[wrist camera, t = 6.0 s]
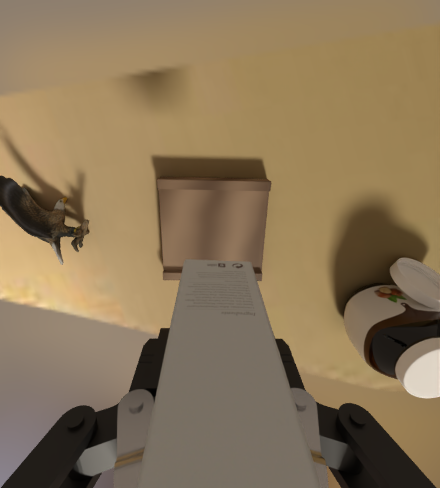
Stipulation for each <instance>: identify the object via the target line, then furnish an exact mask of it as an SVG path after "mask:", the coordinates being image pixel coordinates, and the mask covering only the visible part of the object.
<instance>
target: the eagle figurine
mask: <svg viewBox="0 0 440 488" xmlns="http://www.w3.org/2000/svg"><path fill="white" fill-rule="evenodd" d="M67 199H68V198H66V197H64V198H62V199H60V200H58V202H57V203H56V205H55V207H54V210H53V211H52V212H50V211H46V210H44V209H42V208H40V207H39V206H38V205H37V204H36V203H35V201H34V200H33V199H32V198H31V196H30V195H29V193H28V191H27V189H26V188H23V189H22V188H21V187H20V186H19V185H18V184H17V183H16V182H15V181H14V180H13V179H11V178H5V177H4V176H0V206H1V207H2V209H3V210H4V211H5V212H6V213H7V214H8V215H9V216H10V217H11V218H12V219H13V220H14V221H15V223H16V224H18V225H19V226H20V227H21V228H22V229H23V230H24V231H26V232H27V233H28V234H30V235H32V236H34V237H38V238H39V239H41V240H43V241H46V242H48V243H50V245H51V246H52V248H53V249H54V251H55V253H56V255H57V257H58V259H59V261H60V263H61V265H63V259H62V255H61V250H60V238H61V237H63V236H64V237H66V236H67V237H75V239H74V240H73V241H72V243H71V245H72V246H73V247H74V249H75V251H77V252H79V250H78V248H77V244H78V243H79V247H80V248H81V247H82V246H83V244H82V242H83V238H84V235H86V234H89V231H87V228H88V224H89V220H84V222H83V224H82V225H81V226H79V227H77V228H75V227H68V226H66V225H65V224H64V222H65V209H64V208H65V202H66V200H67Z"/></svg>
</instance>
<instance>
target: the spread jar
mask: <svg viewBox="0 0 440 488" xmlns="http://www.w3.org/2000/svg"><path fill="white" fill-rule="evenodd" d="M390 274H391V277H392V279H393V280H394V282H395V283H396V284H397V285H394V284H386V283H378V284H371V285H368V286H365V287H363V288H361V289H359V290H358V291H356V292H355V293H354V294H352V296H351V297H350V298H349V300H348V301H347V303H346V306H345V310H344V325H345V329H346V332H347V335H348V337H349V339H350V341H351V342H352V344H353V345H354V347H355V348H356V350H357V351H358V353H359V354H360V355H361V357H362V358H363V359H364V361H365V362H366V363H367V364H368V365H369V366H370V367H372V368H373V369H374V370H375V371H377V372H379V373H381V374H383V375H386V376H388V377H391V378H394V379H398V380H399V381H400V382H401V384H402V385H403V386H404V388H405V389H406V390H407V391H408V392H409V393H410V394H412V395H414V396H416V397H420V398H435V397H440V275H439V274H438V273H436V272H435V271H434V270H432V269H431V268H429V267H428V266H426V265H424V264H423V263H421V262H419V261H416V260H414V259H410V258H399V259H398V260H397V261H396V262H395V263H394V264H393V265H392V266H391V267H390Z"/></svg>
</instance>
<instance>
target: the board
mask: <svg viewBox="0 0 440 488" xmlns="http://www.w3.org/2000/svg"><path fill="white" fill-rule="evenodd" d="M157 187H158V189H159V202H160V218H161V235H162V251H163V268H164V271H163V280H180V278H181V273H182V269H183V264H184V261H185V260H186V259H194V260H217V261H244V262H251V264H252V267H253V270H254V273H255V276H256V280H257V281H262V272H261V270H262V260H263V249H264V238H265V228H266V217H267V207H268V196H269V191H270V188H271V181H269V180H268V179H246V178H201V177H159V178H158V179H157Z"/></svg>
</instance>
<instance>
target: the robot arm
mask: <svg viewBox="0 0 440 488" xmlns="http://www.w3.org/2000/svg"><path fill="white" fill-rule="evenodd" d="M169 330H170V328H161V329H160V333H159V337H158V339H149V340H148V341H147V342H146V344H145V345H144V346H143V349H142V352H141V356H140V358H139V361H138V365H137V368H136V371H135V374H134V377H133V380H132V384H131V387H130V390H129V393H127V394H126V395H125V396H124V397H123V398H122V399H121V401H120V402H119V403H118V404H117V405H115V406H113V407H110V408H108V409H104V410H101V411H98V412H95V411H94V409H93V408H92V407H90V406H84V405H83V406H77V407H75V408H72V409H70V410H69V411H67V412H66V413H65V414H64V415H62V417H61V418H60V419H59V420H58V421H57V422H56V423H55V425H54V426H53V427H52V428H51V430H50V431H49V432H48V433H47V434H46V435H45V436H44V438H43V439H42V440H41V441H40V442H39V444H38V445H37V446H36V447H35V448H34V449H33V450H32V452H31V453H30V454H29V455H28V456H27V458H26V459H25V460H24V461H23V462H22V463H21V465H20V466H19V467H18V468H17V469H16V471H15V472H14V473H13V474H12V475H11V476H10V477H9V479H8V480H7V481H6V482H5V483H4V485H3V486H2V487H1V488H93V487H94V485H95V484H96V482H97V480H98V479H99V477H100V475H101V473H102V472H104V471H106V470H109V469H111V468H114V488H137V483H138V478H139V473H140V468H141V464H142V459H143V454H144V449H145V444H146V439H147V435H148V430H149V425H150V420H151V416H152V411H153V407H154V402H155V397H156V392H157V388H158V383H159V378H160V373H161V368H162V364H163V359H164V354H165V349H166V345H167V340H168V335H169ZM274 338H275V337H274ZM275 341H276V344H277V347H278V350H279V353H280V356H281V360H282V363H283V366H284V369H285V373H286V376H287V379H288V382H289V386H290V389H291V392H292V395H293V398H294V401H295V404H296V408H297V411H298V414H299V417H300V420H301V423H302V426H303V429H304V432H305V435H306V438H307V442H308V445H309V448H310V451H311V455H312V458H313V461H314V465H315V468H316V471H317V475H318V479H319V482H320V486H321V488H328V477H327V468H326V466H328V467H329V469H330V470H331V472H332V473H333V475H334V477H335V478H336V480H337V482H338V483H339V485H340V486H341V488H436V487H435V486H434V485H433V483H431V481H430V480H429V479H428V478H427V477H426V476H425V475H424V473H423V472H422V471H421V470H420V469H419V468H418V467H417V466H416V464H415V463H414V462H413V461H412V460H411V459H410V458H409V457H408V456H407V454H406V453H405V452H404V451H403V450H402V449H401V448H400V447H399V445H398V444H397V443H396V442H395V441H394V440H393V439H392V438H391V437H390V436H389V434H388V433H387V432H386V431H385V430H384V429H383V428H382V426H381V425H380V424H379V423H378V422H377V421H376V420H375V419H374V418H373V416H372V415H371V414H370V413H369V412H368V411H366V410H365V409H364V408H362V407H360V406H359V405H356V404H352V403H346V404H343V405H341V406H340V408H339V410H338V409H334V408H331V407H327V406H324V405H321V404H319V403H317V402H316V401H315V400H314V398H313V397H312V396H311V395H310V394H309V393H308V392H306V390H305V388H304V385H303V383H302V380H301V377H300V375H299V372H298V369H297V367H296V364H295V362H294V359H293V356H292V353H291V351H290V348H289V346H288V345H287V344H286V343H285V342H284V340H283V339H275Z"/></svg>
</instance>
